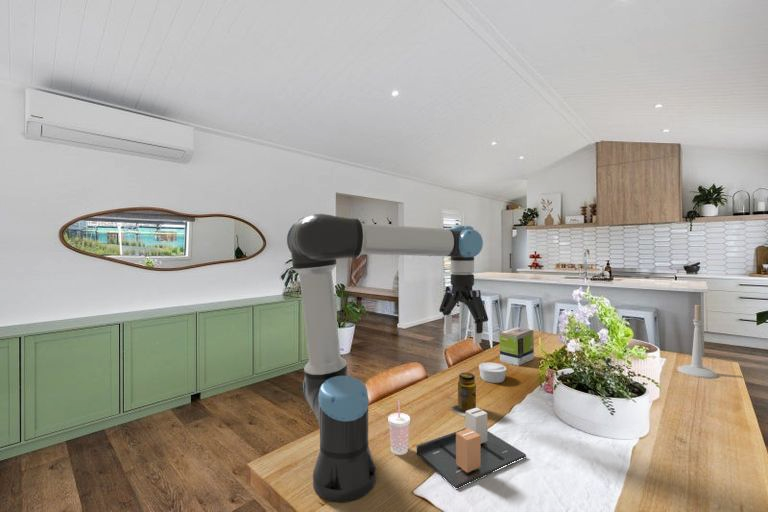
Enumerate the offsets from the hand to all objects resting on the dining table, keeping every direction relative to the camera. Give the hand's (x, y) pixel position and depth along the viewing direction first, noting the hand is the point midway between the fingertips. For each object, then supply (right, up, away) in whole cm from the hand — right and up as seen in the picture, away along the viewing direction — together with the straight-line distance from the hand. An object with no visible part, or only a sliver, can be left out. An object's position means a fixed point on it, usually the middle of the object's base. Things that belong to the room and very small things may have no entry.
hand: (461, 338), depth 115 cm
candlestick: (+110, -24, +38) cm, 119 cm away
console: (-2, -27, -21) cm, 34 cm away
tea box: (+39, -24, +56) cm, 73 cm away
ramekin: (+20, -25, +33) cm, 46 cm away
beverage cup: (-21, -27, -18) cm, 39 cm away
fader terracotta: (-5, -25, -27) cm, 38 cm away
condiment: (+2, -26, +6) cm, 27 cm away
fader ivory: (+1, -25, -16) cm, 30 cm away
